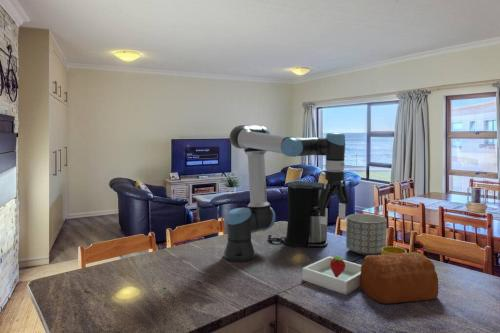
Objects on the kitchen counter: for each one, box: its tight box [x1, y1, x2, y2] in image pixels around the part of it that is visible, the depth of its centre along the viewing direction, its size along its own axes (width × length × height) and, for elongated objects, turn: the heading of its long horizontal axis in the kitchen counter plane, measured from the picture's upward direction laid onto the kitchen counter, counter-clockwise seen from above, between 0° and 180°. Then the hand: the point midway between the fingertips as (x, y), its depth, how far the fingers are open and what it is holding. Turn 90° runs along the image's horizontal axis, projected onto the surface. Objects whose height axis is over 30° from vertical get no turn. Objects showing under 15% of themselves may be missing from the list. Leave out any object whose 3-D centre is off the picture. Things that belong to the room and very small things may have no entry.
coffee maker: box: [267, 180, 329, 248], centre depth 194 cm, size 23×32×34 cm
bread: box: [360, 251, 439, 305], centre depth 132 cm, size 17×24×15 cm
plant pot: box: [380, 245, 408, 255], centre depth 153 cm, size 10×10×10 cm
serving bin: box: [302, 256, 362, 296], centre depth 145 cm, size 20×20×5 cm
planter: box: [345, 213, 388, 257], centre depth 177 cm, size 19×19×18 cm
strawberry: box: [330, 253, 347, 277], centre depth 144 cm, size 6×8×10 cm
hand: (333, 221), depth 147 cm, fingers open, 13 cm apart
